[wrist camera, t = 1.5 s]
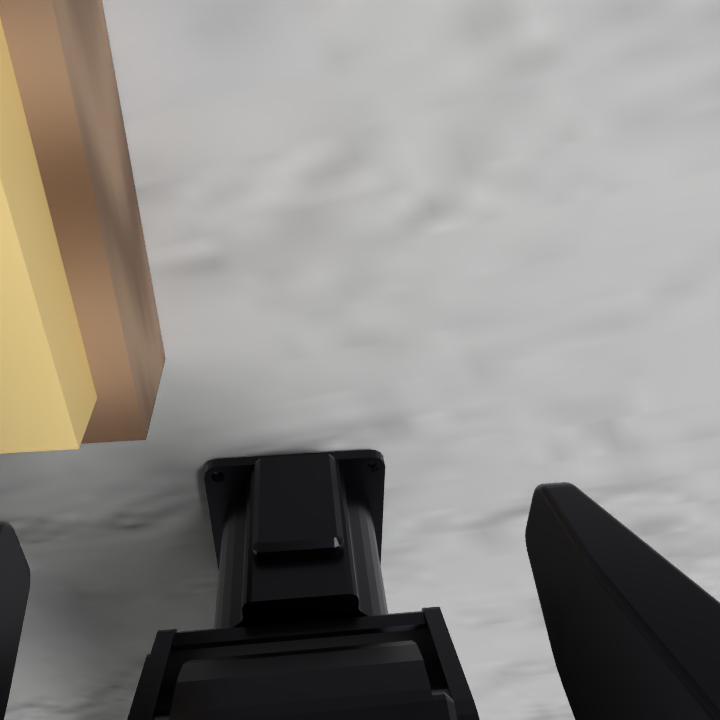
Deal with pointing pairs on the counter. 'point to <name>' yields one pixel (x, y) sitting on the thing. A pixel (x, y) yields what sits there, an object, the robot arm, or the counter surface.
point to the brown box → (90, 202)
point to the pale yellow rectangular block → (34, 301)
